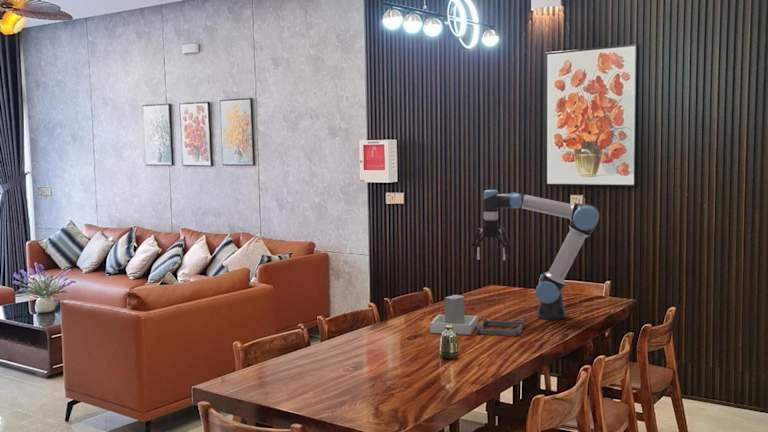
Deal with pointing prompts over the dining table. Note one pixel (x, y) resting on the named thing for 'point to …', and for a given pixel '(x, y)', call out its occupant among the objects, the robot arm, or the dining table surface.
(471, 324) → the bin
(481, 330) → the frame
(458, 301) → the skincare box
